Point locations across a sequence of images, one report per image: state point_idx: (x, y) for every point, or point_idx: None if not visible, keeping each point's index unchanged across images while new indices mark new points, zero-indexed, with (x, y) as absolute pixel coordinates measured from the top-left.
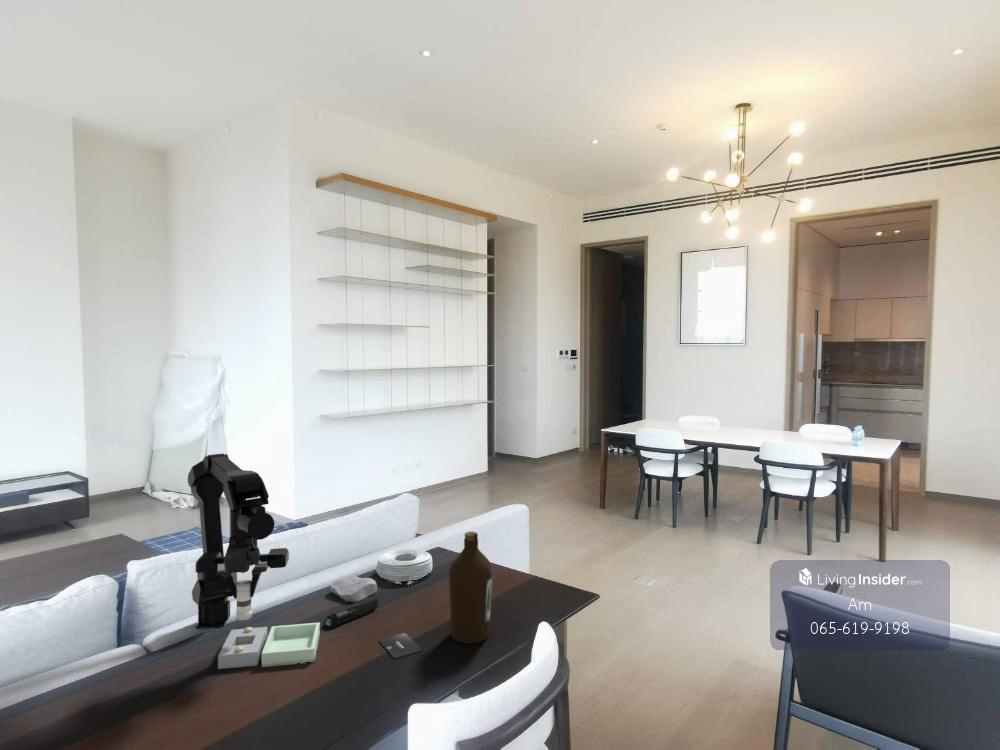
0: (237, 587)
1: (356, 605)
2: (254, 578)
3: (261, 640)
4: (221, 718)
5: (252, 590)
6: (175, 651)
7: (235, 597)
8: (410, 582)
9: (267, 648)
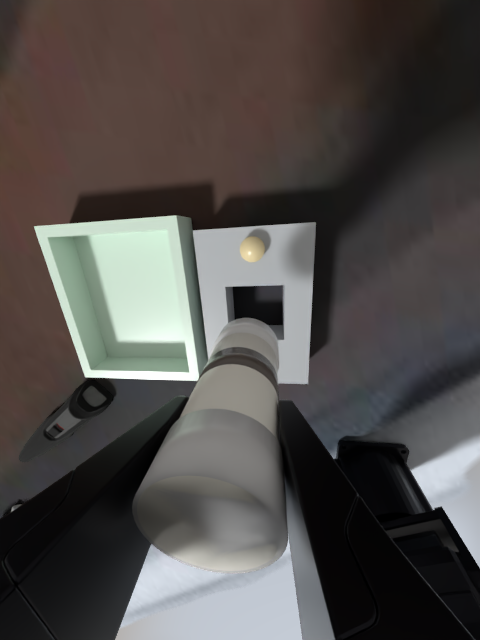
0: (261, 461)
1: (46, 442)
2: (9, 547)
3: (203, 304)
4: None
5: (148, 425)
6: (447, 345)
7: (283, 402)
8: (11, 510)
9: (172, 254)
